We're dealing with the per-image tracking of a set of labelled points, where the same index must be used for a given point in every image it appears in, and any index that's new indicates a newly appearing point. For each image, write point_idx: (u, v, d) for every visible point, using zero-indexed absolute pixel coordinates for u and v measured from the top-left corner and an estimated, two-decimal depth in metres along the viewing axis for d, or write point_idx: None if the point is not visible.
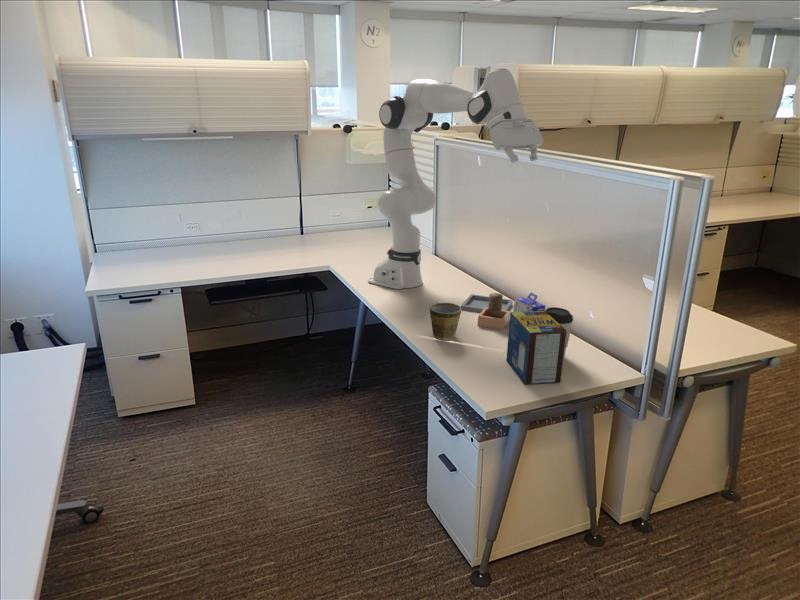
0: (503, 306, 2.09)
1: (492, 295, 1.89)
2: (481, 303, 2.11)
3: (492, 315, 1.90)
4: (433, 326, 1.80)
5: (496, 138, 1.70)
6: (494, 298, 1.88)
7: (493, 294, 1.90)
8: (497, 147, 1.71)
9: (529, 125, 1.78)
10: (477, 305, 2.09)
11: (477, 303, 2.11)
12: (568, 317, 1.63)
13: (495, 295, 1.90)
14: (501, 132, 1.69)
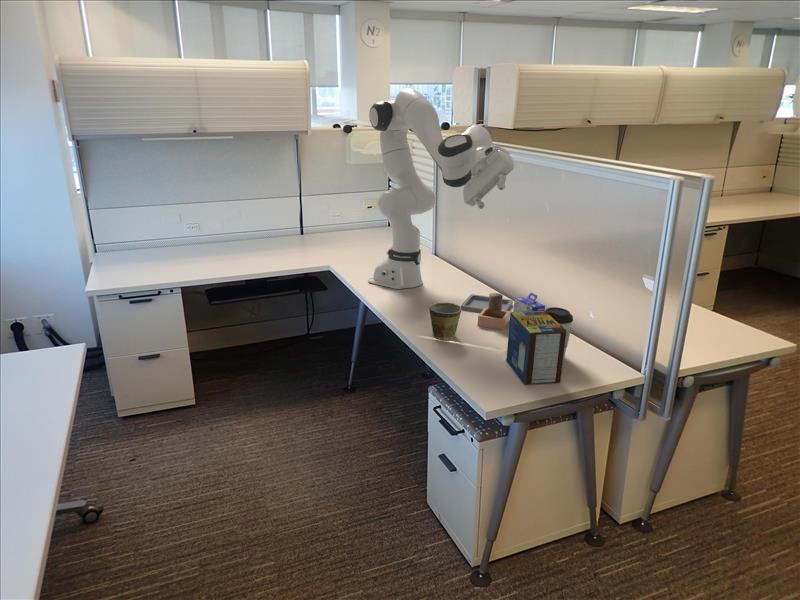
0: (503, 306, 2.09)
1: (492, 295, 1.89)
2: (481, 303, 2.11)
3: (492, 315, 1.90)
4: (433, 326, 1.80)
5: (509, 159, 1.72)
6: (494, 298, 1.88)
7: (493, 294, 1.90)
8: (508, 164, 1.70)
9: None
10: (477, 305, 2.09)
11: (477, 303, 2.11)
12: (568, 317, 1.63)
13: (495, 295, 1.90)
14: None
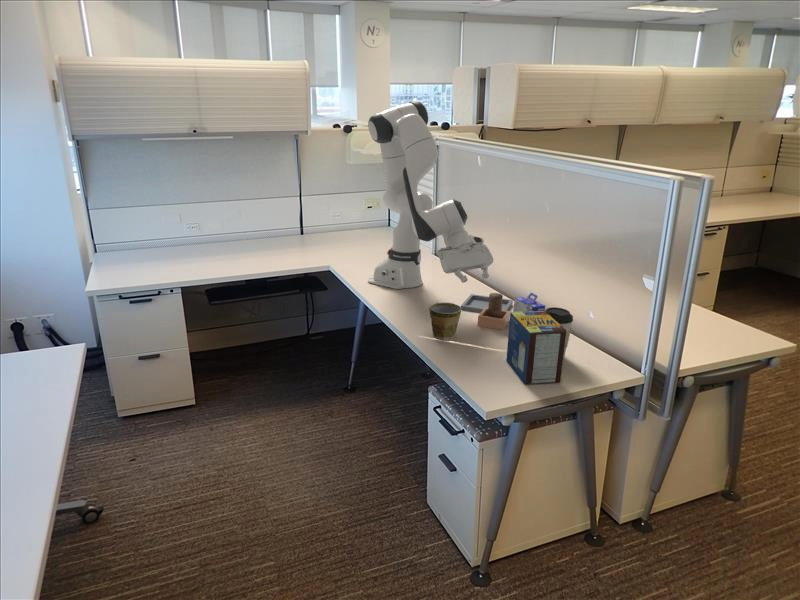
0: (503, 306, 2.09)
1: (492, 295, 1.89)
2: (481, 303, 2.11)
3: (492, 315, 1.90)
4: (433, 326, 1.80)
5: None
6: (494, 298, 1.88)
7: (493, 294, 1.90)
8: None
9: None
10: (477, 305, 2.09)
11: (477, 303, 2.11)
12: (568, 317, 1.63)
13: (495, 295, 1.90)
14: None
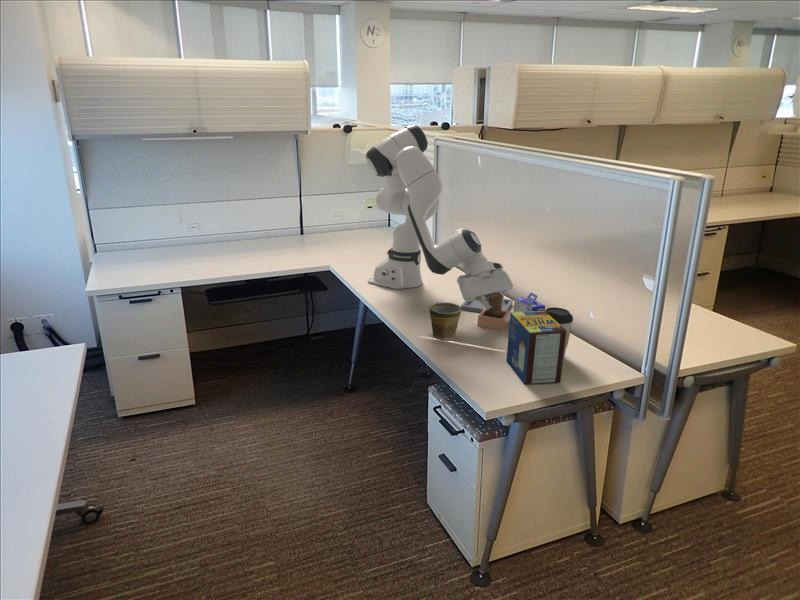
0: (503, 306, 2.09)
1: (492, 295, 1.89)
2: None
3: (492, 315, 1.90)
4: (433, 326, 1.80)
5: None
6: (494, 298, 1.88)
7: (493, 294, 1.90)
8: None
9: None
10: (477, 305, 2.09)
11: (477, 303, 2.11)
12: (568, 317, 1.63)
13: (495, 295, 1.90)
14: None
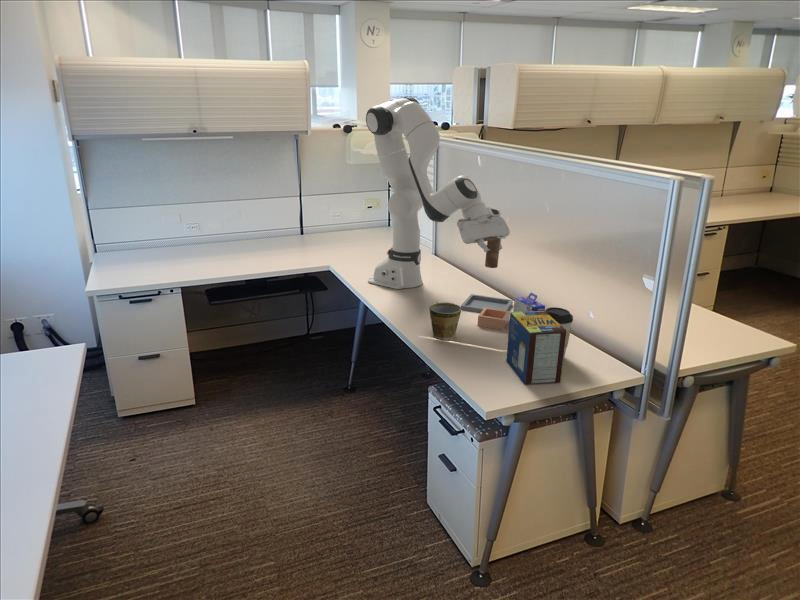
0: (503, 306, 2.09)
1: (490, 238, 1.97)
2: (481, 303, 2.11)
3: (490, 258, 1.98)
4: (433, 326, 1.80)
5: None
6: (492, 241, 1.96)
7: (491, 238, 1.98)
8: None
9: None
10: (477, 305, 2.09)
11: (477, 303, 2.11)
12: (568, 317, 1.63)
13: (493, 238, 1.98)
14: None
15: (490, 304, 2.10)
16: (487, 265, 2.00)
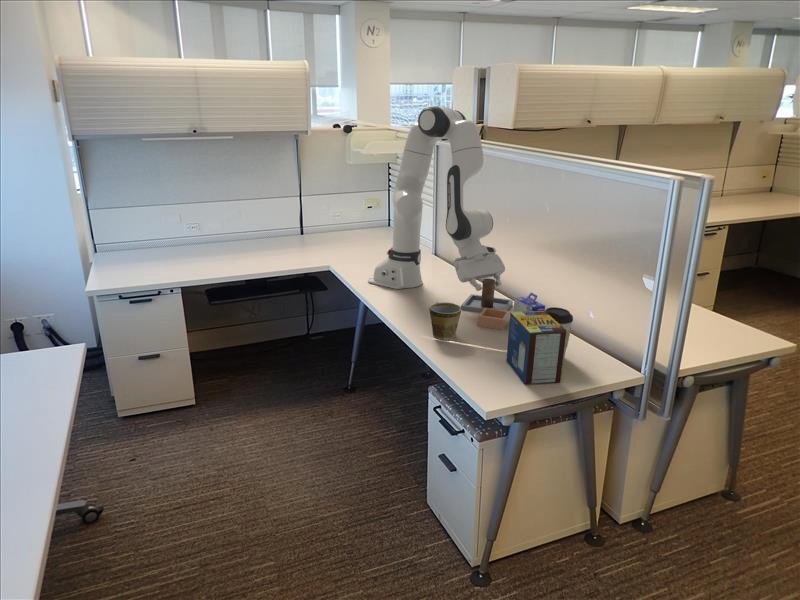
0: (503, 306, 2.09)
1: (485, 280, 2.05)
2: None
3: (485, 299, 2.05)
4: (433, 326, 1.80)
5: None
6: (487, 283, 2.03)
7: (486, 280, 2.05)
8: None
9: None
10: (477, 305, 2.09)
11: (477, 303, 2.11)
12: (568, 317, 1.63)
13: (488, 280, 2.05)
14: None
15: None
16: (483, 306, 2.07)
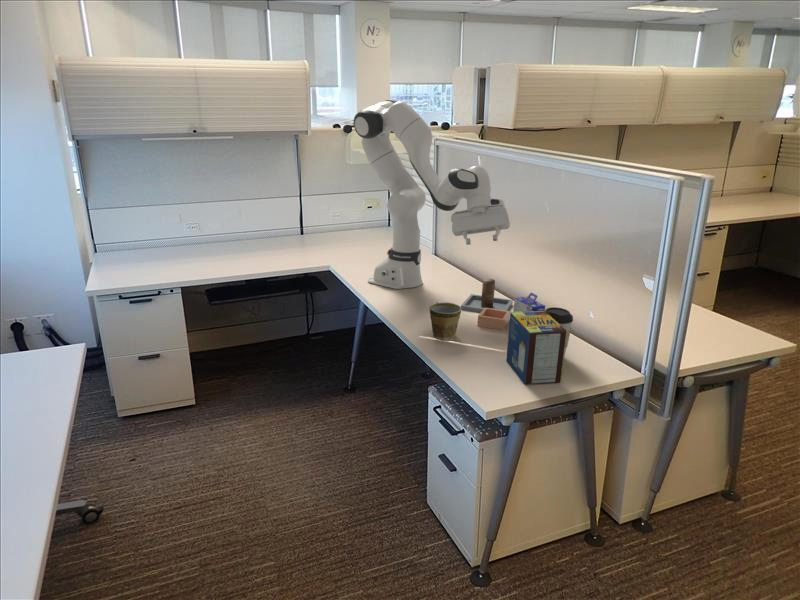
0: (503, 306, 2.09)
1: (485, 280, 2.05)
2: None
3: (485, 299, 2.05)
4: (433, 326, 1.80)
5: None
6: (487, 283, 2.03)
7: (486, 280, 2.05)
8: (508, 224, 1.97)
9: None
10: (477, 305, 2.09)
11: (477, 303, 2.11)
12: (568, 317, 1.63)
13: (488, 280, 2.05)
14: None
15: None
16: (483, 306, 2.07)
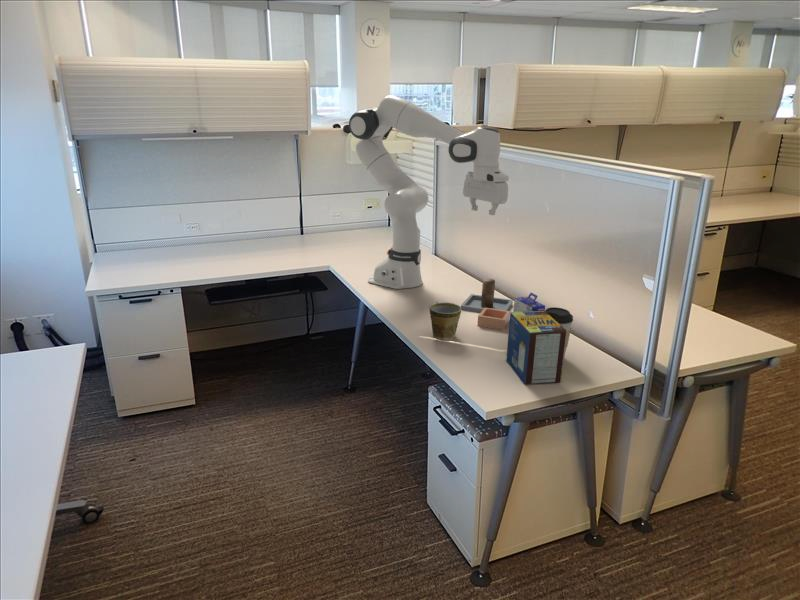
0: (503, 306, 2.09)
1: (485, 280, 2.05)
2: None
3: (485, 299, 2.05)
4: (433, 326, 1.80)
5: (504, 195, 1.97)
6: (487, 283, 2.03)
7: (486, 280, 2.05)
8: (501, 203, 1.98)
9: None
10: (477, 305, 2.09)
11: (477, 303, 2.11)
12: (568, 317, 1.63)
13: (488, 280, 2.05)
14: None
15: None
16: (483, 306, 2.07)
